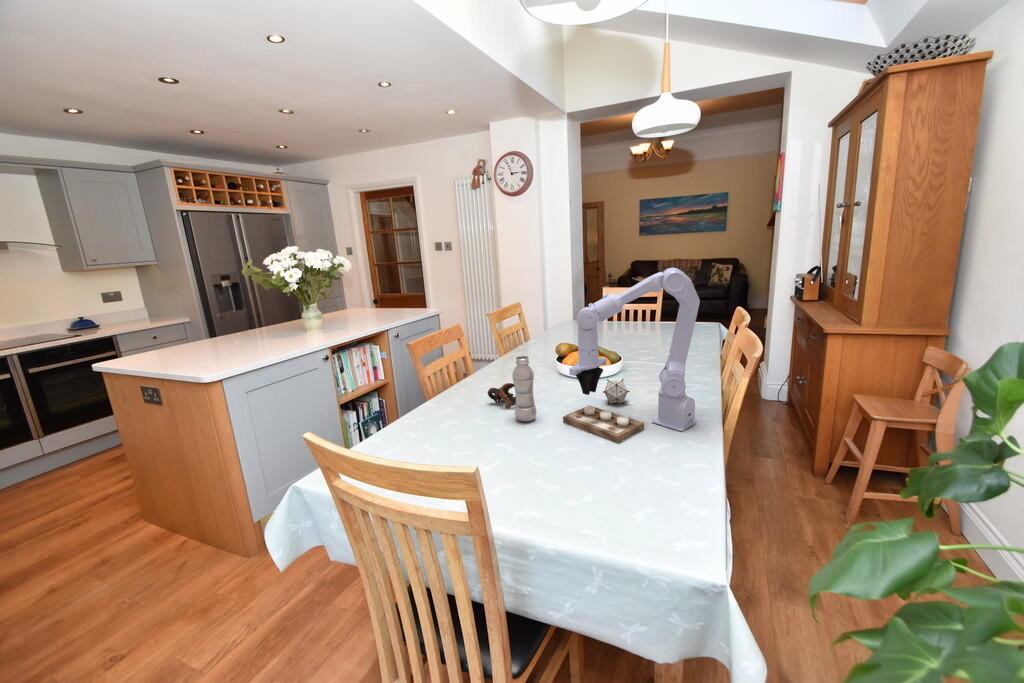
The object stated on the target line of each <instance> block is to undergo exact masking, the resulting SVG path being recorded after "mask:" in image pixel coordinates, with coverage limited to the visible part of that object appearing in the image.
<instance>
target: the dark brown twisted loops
mask: <svg viewBox="0 0 1024 683" xmlns="http://www.w3.org/2000/svg"><path fill="white" fill-rule="evenodd" d="M513 388H515V387H514V382H513V383H512V382H506V383H504V384H502V386H500V387H499V388H496V387H490V388H489V389H488V391H487V395H488V397H489V398H490V399H491V400H493V401H494V403H496V404H497V403H500V401H502V400H503V401H504V402H505V405H504V408H505V409H507V408H508V409H507V410H509V408H510V409H511V408H512V407H515V406H516V396H514V394H513V393H511V392H509V391H510V390H511V389H513Z"/></svg>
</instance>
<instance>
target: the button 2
mask: <svg viewBox="0 0 1024 683" xmlns="http://www.w3.org/2000/svg"><path fill="white" fill-rule="evenodd" d="M628 418H629V417H628ZM628 418H627V416H625V417H618V418H617V426H620V427H623V428H625V427H627V426H629V419H628Z"/></svg>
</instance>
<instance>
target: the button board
mask: <svg viewBox="0 0 1024 683" xmlns="http://www.w3.org/2000/svg"><path fill="white" fill-rule="evenodd" d="M588 406H591V405H589V404H588ZM594 407H595V406H594ZM602 411H608V410H604V409H602V408H600V407H595V415H593V416H588V415H585V414H584V407H581V408H579V409H578V410H575V411H573V412H571V413H568V414H566V415H563V416H562V423H563V424H565V423H566V424H565V425H567V424H568V426H570V425H571V427H573V428H575V427H576V429H578V428H579V429H578V430H581V431H583V430H584V432H586V431H587V432H586V433H589V434H591V433H592V435H594V434H595V435H594V436H597V437H600V438H602V439H605V440H607V439H608V441H610V440H611V442H613V443H615V442H616V444H620V443H621V442H623V440H624V441H625V439H626V440H628V439H630V438H631V437H633V436H634V434H635V435H636V433H637V434H639V433H640V432H642V431H644V430H645V422H644V421H640V420H637V419H633V418H631V417H627V416H624V415H621V414H618V413H615V412H612V411H608V412H611V420H610V421H608V422H605V421H602V420H600V412H602ZM618 417H627V418H628V419H629V426H627V427H625V428H623V427H620V426H617V418H618ZM643 429H644V430H643ZM632 435H633V436H632ZM627 438H628V439H627Z"/></svg>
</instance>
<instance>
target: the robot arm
mask: <svg viewBox="0 0 1024 683" xmlns="http://www.w3.org/2000/svg"><path fill="white" fill-rule="evenodd" d="M692 281H693V280H692V279H691V278H690V277H689V276H688V275H687V274H686V273H685V272H683V271H682V270H681V269H679V268H677V267H669V268H666V269H665V270H663V272H662V271H659V272H657V273H654V274H652V275H650V276H648V277H645V278H644V279H643V280H641V281H640V282H638V283H636V284H634V285H633V286H631V287H629V288H628V289H626V290H624V291H623V292H621V293H619V294H615V293H610V294H608V293H606V294H604V295H603V296H602V297H603V298H601V299H599V300H597V301H596V302H594V303H592V302H590V303H589V304H588V306H586V307H583V308H582V309H580V310H579V312H578V314H577V316H576V323H577V326H578V327H577V332H578V333H577V346H578V347H577V348H578V350H577V351H578V352H577V353H578V360H577V361H576V364H575V365H574V366H572V367H570V368H569V375H570V376H574V377H576V379H577V380H578V382H579V386H580V388H581V391H582V394H583V395H587V396H589V395H590V394H591V393H596V392H597V387H598V383H599V380H600V377H601V376H602V374H603V372H604V368H602V367H601V366H606V365H607V362H608V361H607V360H608V359H607V358H606V357H602V356H601V357H599V334H598V322H599V323H600V322H604V321H606V320H608V319H610V318H611V317H614V316H615V315H617V314H619V313H621V312H622V311H623V308H624V305H626V304H628V303H630V302H633V301H634V300H636V299H638V298H640V297H642V296H644V295H646V294H649V293H662V292H663V290H662V289H664V291H665V292H666V293H668V294H669V295H671V296H672V297H674V299H676V301H677V302H678V304H679V307H678V311H677V314H676V315H677V317H676V319H675V325H674V330H673V334H672V338H671V343H670V347H669V352H668V357H667V359H666V361H665V364H664V367H663V368H662V370H661V371H660V372H659V381H660V384H661V387H660V389H658V394H657V395H658V397H657V398H658V400H657V401H658V406H657V407H658V408H657V414H658V415H657V417H656V418H655V419H653V420H651V423H653V424H656V425H659V426H662V427H665V428H669V429H673V430H675V431H678V432H684V431H685V430H687V429H688V428H690V427H691V426H693V425H695V424H696V423H697V422H696V421H695V420H696V419H695V418H696V417H695V416H696V401H695V399H694V398H693V397H691V396H688V395H687V394H686V388H687V385H686V381H685V375H686V362H687V358H688V355H689V354H688V353H689V350H690V345H691V341H692V337H693V332H694V329H695V324H696V320H697V317H698V313H699V312H698V311H699V306H700V302H701V300H700V297H699V296H698V293H697V291H696V289H695V286H694V284H693V282H692Z"/></svg>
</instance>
